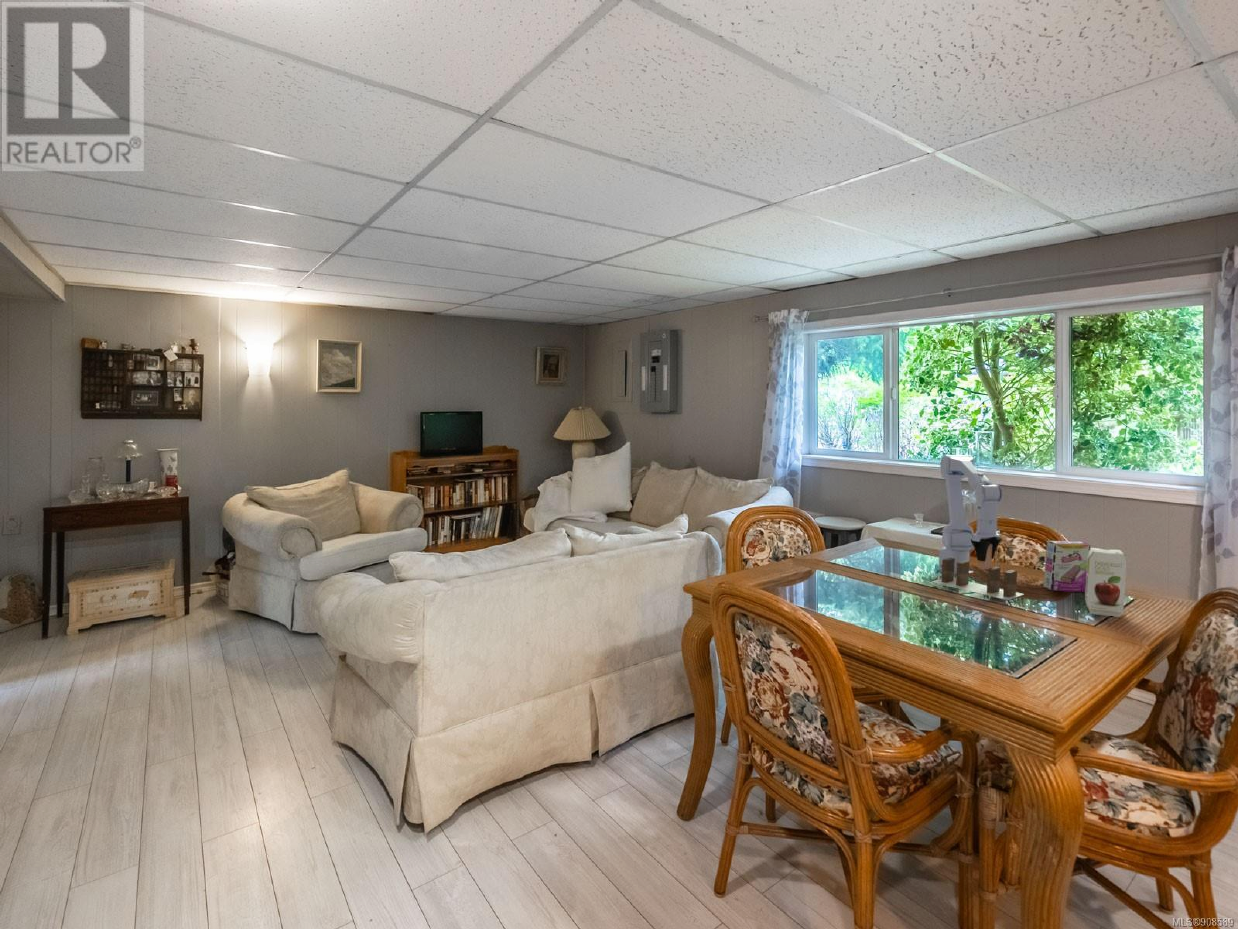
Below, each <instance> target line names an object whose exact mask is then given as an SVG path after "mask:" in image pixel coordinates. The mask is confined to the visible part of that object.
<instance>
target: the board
mask: <svg viewBox="0 0 1238 929" xmlns="http://www.w3.org/2000/svg"><path fill="white" fill-rule="evenodd" d="M931 583H934V584H937V585H938V584H939V585H942V586H946V587H951V588H955V589H959V590H962V591H963V590H964V591H967V592H972V593H975V594H979V595H983V596H988V597H992V598H997V599H1001V600H1005V601H1010V600H1012V599H1015V598H1018V597H1021V596H1024V595H1025V594H1024V593H1020V592H1018V591H1016V595H1014V596H1011V597H1009V598H1008V597H1004V596H1003V589H1004V588H1000V590H999V591H998V592H995V593H992V594H991V593H987V584H981V583H977V582H971V581H969V582H968V584H967V585H964V586H957V585H956V578H955V577H954V581H951V582H948V583H944V582H942V578H939V579H936V580H933V581H931Z"/></svg>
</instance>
